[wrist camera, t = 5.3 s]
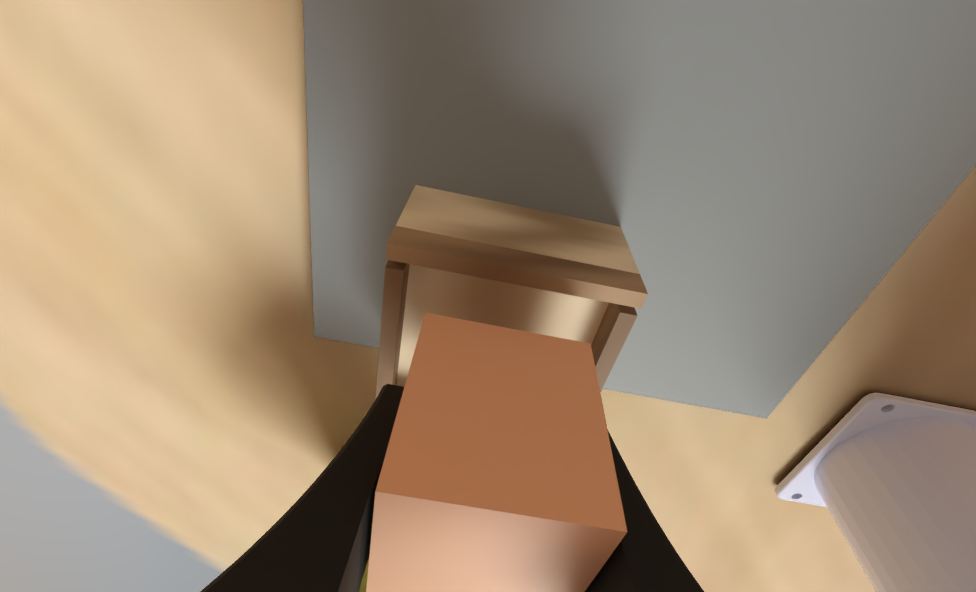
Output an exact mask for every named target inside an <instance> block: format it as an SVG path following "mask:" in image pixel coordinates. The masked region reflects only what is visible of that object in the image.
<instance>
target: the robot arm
mask: <svg viewBox="0 0 976 592" xmlns="http://www.w3.org/2000/svg"><path fill="white" fill-rule="evenodd" d="M403 390H404V387H403V386H397V385H392V384H386V385H384V386H383V387H382V389H381V391H380V393H379V395H378V396H377V398H376V400H375V402H374V403H373V405H372V407H371V408H370V410H369V411H368V413H367V414H366V416H365V417H364V419H363V420H362V422H361V423H360V425H359V426H358V427H357V429H356V430H355V432H354V433H353V434H352V436H351V437H350V438H349V440H348V441H347V442H346V444H345V445H344V446H343V448H342V449H341V450H340V452H339V453H338V454H337V455H336V457H335V458H334V459H333V460H332V461H331V463H330V464H329V465H328V466H327V467H326V469H325V470H324V471H323V472H322V473H321V475H320V476H319V477H318V478H317V479H316V480H315V482H314V483H313V484H312V485H311V486H310V487H309V488H308V490H307V491H306V492H305V493H304V494H303V495H302V496H301V497H300V498H299V499H298V501H297V502H296V503H295V504H294V505H293V506H292V507H291V508H290V509H289V510H288V511H287V512H286V513H285V514H284V515H283V516H282V517H281V518H280V519H279V520H278V521H277V522H276V523H275V524H274V525H273V526H272V527H271V528H270V529H269V530H268V531H267V532H266V533H265V534H264V535H263V536H262V537H261V538H260V539H259V540H258V541H257V542H256V543H255V544H254V545H253V546H252V547H251V548H249V549H248V550H247V551H246V552H245V553H244V554H243V555H242V556H241V557H240V558H239V559H238V560H236V561H235V562H234V563H233V564H232V565H231V566H230V567H229V568H227V569H226V570H225V571H224V572H223V573H222V574H220V575H219V576H218V577H217V578H216V579H215V580H213V581H212V582H211V583H210V584H209V585H208V586H207V587H205V588H204V589H203V590H202V591H201V592H359V590H360V586H361V582H362V579H363V575H364V572H365V568H366V565H367V562H368V559H369V555H370V544H371V533H372V522H373V512H374V501H375V491H376V487H377V484H378V480H379V477H380V473H381V469H382V466H383V462H384V459H385V455H386V451H387V448H388V444H389V441H390V437H391V433H392V430H393V426H394V423H395V419H396V415H397V412H398V408H399V405H400V401H401V398H402V394H403ZM607 430H608V429H607ZM608 435H609V440H610V445H611V450H612V456H613V461H614V466H615V471H616V476H617V481H618V486H619V491H620V497H621V502H622V507H623V512H624V517H625V522H626V527H627V533H626V535H625V536H624V537H623V539H622V540H621V542H620V543H619V544H618V546H617V547H616V549H615V550H614V551H613V553H612V554H611V556H610V557H609V558H608V560H607V561H606V563H605V564H604V565H603V567H602V568H601V570H600V571H599V572H598V574H597V575H596V577H595V578H594V579H593V581H592V582H591V584H590V585H589V586H588V588H587V589H586V590H585V592H704V591H703V590H702V588H701V587H700V585H699V584H698V583H697V581H696V580H695V578H694V577H693V575H692V574H691V573H690V571H689V570H688V568H687V567H686V566H685V564H684V563H683V561H682V560H681V558H680V557H679V555H678V554H677V552H676V551H675V549H674V548H673V546H672V544H671V543H670V541H669V540H668V538H667V536H666V535H665V533H664V532H663V530H662V528H661V527H660V525H659V524H658V522H657V520H656V519H655V517H654V515H653V514H652V512H651V510H650V509H649V507H648V505H647V503H646V501H645V500H644V498H643V496H642V494H641V493H640V491H639V489H638V487H637V486H636V484H635V482H634V480H633V478H632V476H631V474H630V473H629V471H628V469H627V467H626V465H625V463H624V461H623V459H622V457H621V455H620V453H619V451H618V449H617V447H616V445H615V443H614V441H613V439H612V437H611V435H610V433H609V431H608ZM775 493H776V495H777V497H778V498H780V499H783V500H789V501H795V502H801V503H807V504H813V505H819V506H824V507H827V508H828V509H829V511H830V513H831V515H832V516H833V518H834V520H835V522H836V523H837V525H838V527H839V528H840V530H841V532H842V534H843V535H844V537H845V539H846V541H847V542H848V544H849V546H850V547H851V549H852V551H853V553H854V554H855V556H856V558H857V560H858V561H859V563H860V565H861V566H862V568H863V570H864V572H865V573H866V575H867V577H868V579H869V580H870V582H871V584H872V585H873V587H874V589H875V591H876V592H976V411H974V410H969V409H963V408H958V407H953V406H947V405H942V404H937V403H931V402H926V401H921V400H915V399H910V398H905V397H899V396H894V395H889V394H883V393H870V394H868V395H866V396H864V397H863V398H862V399H861V400H860V401H859V402H858V403H857V404H856V405H855V406H854V407H853V408H852V409H851V410H850V411H849V412H848V413H847V414H846V415H845V416H844V417H843V418H842V419H841V421H840V422H839V423H838V424H837V425H836V426H835V427H834V428H833V429H832V430H831V431H830V432H829V433H828V434H827V435H826V436H825V437H824V438H823V439H822V440H821V441H820V442H819V443H818V444H817V445H816V446H815V447H814V448H813V449H812V450H811V451H810V452H809V453H808V455H807V456H806V457H805V458H804V459H803V460H802V461H801V462H800V463H799V464H798V465H797V466H796V467H795V468H794V469H793V470H792V471H791V472H790V473H789V474H788V475H787V476H786V477H785V478H784V479H783V480H782V481H781V482H780V483H779V484H778V485H777V486H776V488H775Z"/></svg>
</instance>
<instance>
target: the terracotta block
mask: <svg viewBox="0 0 976 592" xmlns="http://www.w3.org/2000/svg"><path fill="white" fill-rule="evenodd" d="M626 533H627V527H626V522H625V517H624V512H623V507H622V502H621V497H620V491H619V486H618V481H617V476H616V471H615V466H614V461H613V456H612V450H611V445H610V440H609V435H608V430H607V425H606V420H605V415H604V409H603V404H602V399H601V394H600V389H599V384H598V379H597V373H596V368H595V363H594V358H593V353H592V348H591V344H590V343H585V342H580V341H574V340H569V339H564V338H558V337H553V336H548V335H542V334H537V333H532V332H526V331H521V330H516V329H510V328H505V327H500V326H494V325H489V324H484V323H478V322H473V321H468V320H462V319H457V318H452V317H446V316H441V315H436V314H430V313H425V315H424V318H423V322H422V326H421V329H420V333H419V336H418V340H417V344H416V347H415V351H414V354H413V358H412V362H411V365H410V369H409V372H408V376H407V380H406V383H405V387H404V390H403V394H402V398H401V401H400V405H399V408H398V412H397V415H396V419H395V423H394V426H393V430H392V433H391V437H390V441H389V444H388V448H387V451H386V455H385V459H384V462H383V466H382V469H381V473H380V477H379V480H378V484H377V487H376V491H375V501H374V512H373V522H372V533H371V544H370V555H369V566H368V577H367V587H366V592H585V590H586V589H587V588H588V586H589V585H590V584H591V582H592V581H593V579H594V578H595V577H596V575H597V574H598V572H599V571H600V570H601V568H602V567H603V565H604V564H605V563H606V561H607V560H608V558H609V557H610V556H611V554H612V553H613V551H614V550H615V549H616V547H617V546H618V544H619V543H620V542H621V540H622V539H623V537H624V536H625V535H626Z"/></svg>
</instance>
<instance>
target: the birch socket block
mask: <svg viewBox="0 0 976 592" xmlns="http://www.w3.org/2000/svg"><path fill="white" fill-rule="evenodd" d="M386 260H388V262H387V264H386V267H385V276H384V290H383V303H382V316H381V329H380V343H379V356H378V369H377V382H376V396H375V400H376V398H377V396H378V395H379V393H380V391H381V389H382V387H383V386H384V385H386V384H392V385H397V386H403V387H405V383H406V380H407V376H408V372H409V369H410V365H411V362H412V358H413V354H414V351H415V347H416V344H417V340H418V336H419V333H420V329H421V326H422V322H423V318H424V315H425V313H430V314H436V315H441V316H446V317H452V318H457V319H462V320H468V321H473V322H478V323H484V324H489V325H494V326H500V327H505V328H510V329H516V330H521V331H526V332H532V333H537V334H542V335H548V336H553V337H558V338H564V339H569V340H574V341H580V342H585V343H590V344H591V348H592V353H593V358H594V363H595V368H596V373H597V379H598V384H599V389H600V392H601V390H602V388H603V386H604V384H605V382H606V380H607V378H608V376H609V374H610V372H611V370H612V368H613V366H614V363H615V361H616V359H617V357H618V355H619V353H620V351H621V349H622V347H623V345H624V343H625V341H626V339H627V337H628V335H629V333H630V330H631V328H632V326H633V324H634V322H635V320H636V318H637V313H636V310H635V308H640V309H641V308H642V306H643V304H644V302H645V299H646V297H647V295H648V293H647V290H646V288H645V285H644V283H643V280H642V278H641V275H640V273H639V270H638V268H637V265H636V263H635V260H634V258H633V256H632V253H631V251H630V248H629V246H628V243H627V241H626V238H625V236H624V233H623V231H622V228H621V227H619V226H614V225H609V224H604V223H599V222H595V221H590V220H585V219H580V218H575V217H570V216H565V215H560V214H556V213H551V212H546V211H541V210H536V209H531V208H526V207H521V206H516V205H512V204H507V203H502V202H497V201H492V200H487V199H482V198H477V197H472V196H468V195H463V194H458V193H453V192H448V191H443V190H438V189H433V188H428V187H424V186H419V185H415V187H414V189H413V191H412V193H411V195H410V197H409V199H408V201H407V203H406V205H405V207H404V209H403V212H402V214H401V216H400V218H399V220H398V222H397V224H396V226H395V228H394V230H393V232H392V234H391V236H390V238H389V240H388V242H387V250H386Z"/></svg>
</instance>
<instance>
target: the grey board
mask: <svg viewBox="0 0 976 592" xmlns="http://www.w3.org/2000/svg"><path fill="white" fill-rule="evenodd" d="M303 19H304V49H305V79H306V109H307V138H308V168H309V198H310V228H311V258H312V288H313V318H314V337H318V338H324V339H329V340H335V341H340V342H346V343H351V344H357V345H362V346H368V347H373V348H379V343H380V329H381V316H382V303H383V290H384V276H385V267H386V264H387V262H388V260H386V250H387V242H388V240H389V238H390V236H391V234H392V232H393V230H394V228H395V226H396V224H397V222H398V220H399V218H400V216H401V214H402V212H403V209H404V207H405V205H406V203H407V201H408V199H409V197H410V195H411V193H412V191H413V189H414V187H415V185H419V186H424V187H428V188H433V189H438V190H443V191H448V192H453V193H458V194H463V195H468V196H472V197H477V198H482V199H487V200H492V201H497V202H502V203H507V204H512V205H516V206H521V207H526V208H531V209H536V210H541V211H546V212H551V213H556V214H560V215H565V216H570V217H575V218H580V219H585V220H590V221H595V222H599V223H604V224H609V225H614V226H619V227H621V228H622V231H623V233H624V236H625V238H626V241H627V243H628V246H629V248H630V251H631V253H632V256H633V258H634V260H635V263H636V265H637V268H638V270H639V273H640V275H641V278H642V280H643V283H644V285H645V288H646V290H647V293H648V295H647V297H646V299H645V302H644V304H643V306H642V308H641V309H640V308H635V310H636V313H637V318H636V320H635V322H634V324H633V326H632V328H631V330H630V333H629V335H628V337H627V339H626V341H625V343H624V345H623V347H622V349H621V351H620V353H619V355H618V357H617V359H616V361H615V363H614V366H613V368H612V370H611V372H610V374H609V376H608V378H607V380H606V382H605V384H604V386H603V388H602V389H606V390H612V391H617V392H623V393H628V394H634V395H639V396H645V397H650V398H656V399H661V400H667V401H673V402H678V403H684V404H689V405H695V406H700V407H706V408H711V409H717V410H722V411H728V412H733V413H739V414H745V415H750V416H756V417H761V418H768V416H769V415H770V414H771V413H772V412H773V410H774V409H775V408H776V407H777V405H778V404H779V403H780V402H781V401H782V399H783V398H784V397H785V396H786V395H787V393H788V392H789V391H790V390H791V389H792V387H793V386H794V385H795V384H796V382H797V381H798V380H799V379H800V378H801V376H802V375H803V374H804V373H805V372H806V370H807V369H808V368H809V367H810V366H811V364H812V363H813V362H814V361H815V359H816V358H817V357H818V356H819V355H820V353H821V352H822V351H823V350H824V349H825V347H826V346H827V345H828V344H829V343H830V341H831V340H832V339H833V338H834V336H835V335H836V334H837V333H838V332H839V330H840V329H841V328H842V327H843V326H844V324H845V323H846V322H847V321H848V320H849V318H850V317H851V316H852V315H853V313H854V312H855V311H856V310H857V309H858V307H859V306H860V305H861V304H862V303H863V301H864V300H865V299H866V298H867V297H868V295H869V294H870V293H871V292H872V290H873V289H874V288H875V287H876V286H877V284H878V283H879V282H880V281H881V280H882V278H883V277H884V276H885V275H886V274H887V272H888V271H889V270H890V269H891V267H892V266H893V265H894V264H895V263H896V261H897V260H898V259H899V258H900V257H901V255H902V254H903V253H904V252H905V251H906V249H907V248H908V247H909V246H910V244H911V243H912V242H913V241H914V240H915V238H916V237H917V236H918V235H919V234H920V232H921V231H922V230H923V229H924V228H925V226H926V225H927V224H928V223H929V222H930V220H931V219H932V218H933V217H934V215H935V214H936V213H937V212H938V211H939V209H940V208H941V207H942V206H943V205H944V203H945V202H946V201H947V200H948V199H949V197H950V196H951V195H952V194H953V192H954V191H955V190H956V189H957V188H958V186H959V185H960V184H961V183H962V182H963V180H964V179H965V178H966V177H967V176H968V174H969V173H970V172H971V171H972V169H973V168H974V167H975V166H976V0H303Z"/></svg>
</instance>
